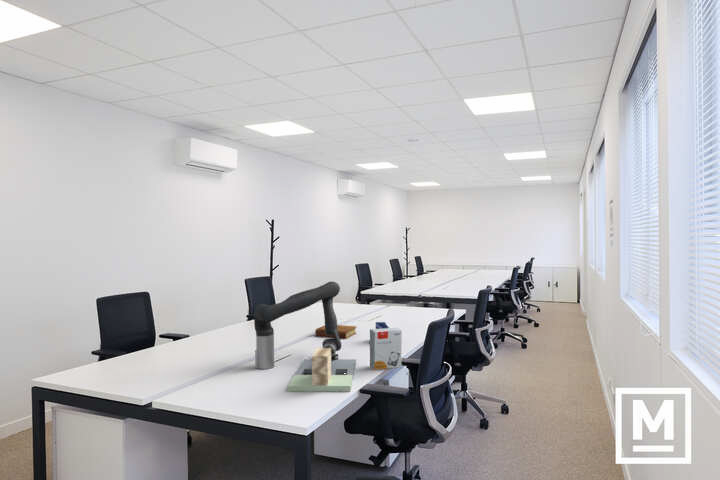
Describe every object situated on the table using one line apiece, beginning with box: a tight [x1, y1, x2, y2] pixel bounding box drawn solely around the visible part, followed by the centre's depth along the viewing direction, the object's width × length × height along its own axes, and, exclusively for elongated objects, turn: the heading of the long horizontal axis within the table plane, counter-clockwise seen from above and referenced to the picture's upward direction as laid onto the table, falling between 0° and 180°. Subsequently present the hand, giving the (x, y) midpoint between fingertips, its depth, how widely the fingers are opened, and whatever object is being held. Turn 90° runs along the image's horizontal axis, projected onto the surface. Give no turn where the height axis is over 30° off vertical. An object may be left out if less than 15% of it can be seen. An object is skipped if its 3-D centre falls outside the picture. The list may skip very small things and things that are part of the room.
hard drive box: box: [369, 327, 403, 371], centre depth 241 cm, size 16×8×20 cm, turn 105°
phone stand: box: [375, 321, 390, 329], centre depth 298 cm, size 12×12×12 cm
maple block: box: [311, 347, 331, 385], centre depth 213 cm, size 7×15×13 cm, turn 178°
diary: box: [314, 324, 357, 340], centre depth 321 cm, size 23×19×6 cm
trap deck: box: [287, 358, 357, 393], centre depth 227 cm, size 28×44×2 cm, turn 177°
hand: (323, 361), depth 223 cm, fingers closed
